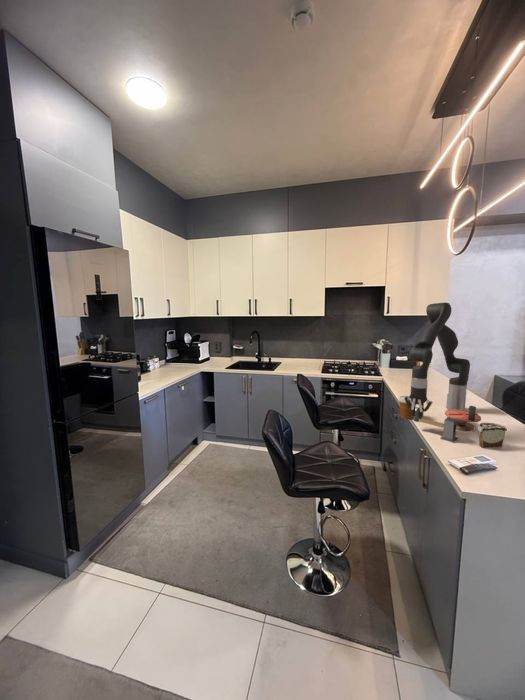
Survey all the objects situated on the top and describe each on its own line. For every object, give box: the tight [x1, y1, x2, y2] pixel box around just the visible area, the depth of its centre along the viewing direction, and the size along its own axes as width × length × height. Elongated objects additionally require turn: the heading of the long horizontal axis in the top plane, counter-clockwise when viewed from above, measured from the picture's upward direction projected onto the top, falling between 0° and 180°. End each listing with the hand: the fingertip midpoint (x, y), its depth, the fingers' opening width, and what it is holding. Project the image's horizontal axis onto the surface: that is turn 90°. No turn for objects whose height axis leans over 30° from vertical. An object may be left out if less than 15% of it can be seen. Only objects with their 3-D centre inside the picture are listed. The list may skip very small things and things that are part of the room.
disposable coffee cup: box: [398, 395, 414, 420], centre depth 171 cm, size 10×10×12 cm
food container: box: [477, 422, 508, 449], centre depth 136 cm, size 12×6×10 cm, turn 92°
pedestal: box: [456, 420, 475, 432], centre depth 156 cm, size 11×11×2 cm
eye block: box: [440, 416, 459, 443], centre depth 142 cm, size 6×6×10 cm
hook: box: [413, 406, 444, 429], centre depth 149 cm, size 15×3×7 cm, turn 42°
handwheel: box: [444, 405, 482, 425], centre depth 155 cm, size 16×16×12 cm
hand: (417, 417), depth 153 cm, fingers closed on hook, 3 cm apart
